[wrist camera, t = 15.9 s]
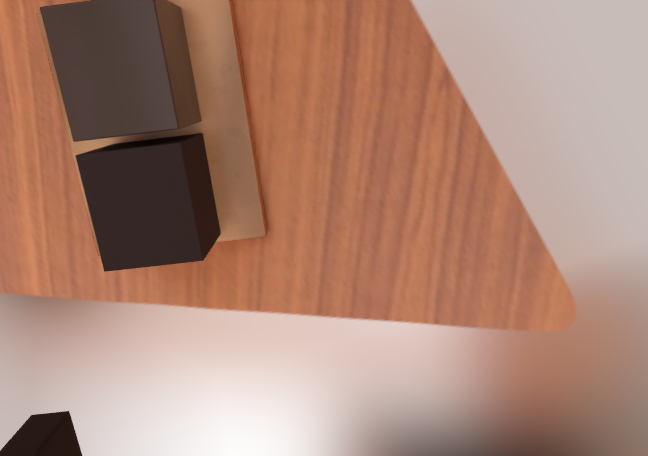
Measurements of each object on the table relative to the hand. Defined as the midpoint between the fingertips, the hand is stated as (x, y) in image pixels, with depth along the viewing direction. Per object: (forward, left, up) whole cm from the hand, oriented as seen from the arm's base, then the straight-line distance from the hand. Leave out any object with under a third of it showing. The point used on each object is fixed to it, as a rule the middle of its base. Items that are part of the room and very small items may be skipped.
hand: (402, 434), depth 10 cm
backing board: (+12, -5, -27) cm, 30 cm away
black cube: (+12, -1, -26) cm, 28 cm away
